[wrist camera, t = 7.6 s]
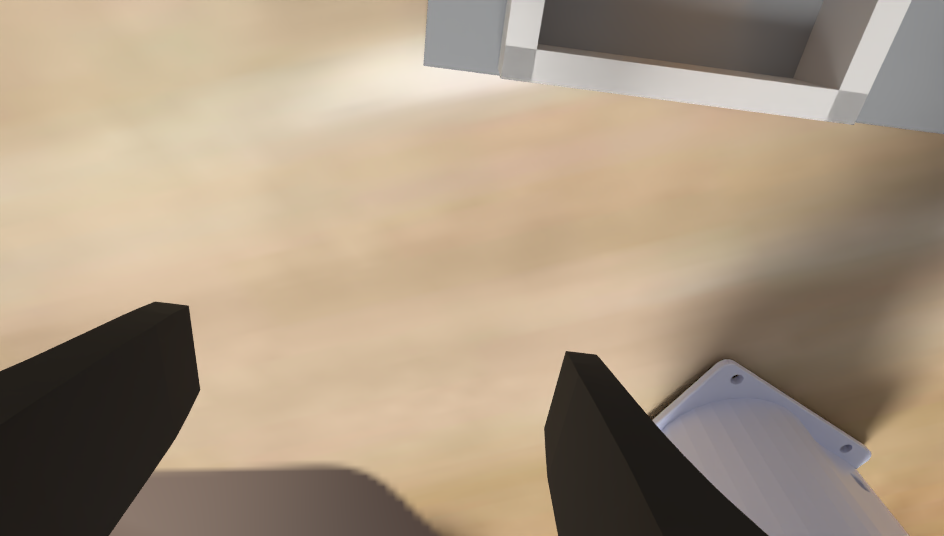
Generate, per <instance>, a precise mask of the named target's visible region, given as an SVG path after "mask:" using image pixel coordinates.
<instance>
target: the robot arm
mask: <svg viewBox="0 0 944 536" xmlns="http://www.w3.org/2000/svg"><path fill="white" fill-rule="evenodd" d="M735 375H738V376H737V377H735V378H732V377H733V376H735ZM199 391H200V385H199V378H198V370H197V363H196V356H195V349H194V341H193V334H192V327H191V320H190V312H189V306H187V305H178V304H170V303H162V302H153V303H151V304H148V305H146V306H143V307H141V308H138V309H136V310H134V311H131V312H129V313H127V314H125V315H122V316H120V317H118V318H116V319H114V320H111V321H109V322H107V323H105V324H103V325H101V326H99V327H97V328H94V329H92V330H90V331H88V332H86V333H84V334H82V335H79V336H77V337H75V338H73V339H71V340H69V341H67V342H64V343H62V344H60V345H58V346H56V347H54V348H52V349H49V350H47V351H45V352H43V353H41V354H39V355H36V356H34V357H32V358H30V359H28V360H25V361H23V362H21V363H19V364H16V365H14V366H12V367H9V368H7V369H5V370H2V371H0V536H109V535H110V533H111V532H112V530H113V529H114V527H115V526H116V525H117V523H118V522H119V520H120V519H121V517H122V516H123V514H124V513H125V512H126V510H127V509H128V507H129V506H130V504H131V503H132V501H133V500H134V499H135V497H136V496H137V494H138V493H139V491H140V490H141V489H142V487H143V486H144V484H145V483H146V481H147V480H148V478H149V477H150V476H151V474H152V473H153V471H154V470H155V468H156V467H157V465H158V464H159V462H160V461H161V459H162V458H163V456H164V455H165V453H166V452H167V451H168V449H169V448H170V446H171V445H172V443H173V441H174V440H175V438H176V437H177V435H178V433H179V431H180V429H181V427H182V425H183V424H184V422H185V420H186V418H187V416H188V414H189V412H190V410H191V408H192V406H193V404H194V402H195V400H196V398H197V396H198V393H199ZM544 431H545V449H546V464H547V477H548V483H549V488H550V494H551V499H552V505H553V510H554V516H555V521H556V526H557V531H558V536H909V535H908V533H907V532H906V531H905V530H904V528H903V527H902V526H901V525H900V523H899V522H898V521H897V520H896V518H895V517H894V516H893V515H892V513H891V512H890V511H889V510H888V508H887V507H886V506H885V505H884V503H883V502H882V501H881V500H880V498H879V497H878V496H877V495H876V494H875V492H874V491H873V490H872V489H871V487H870V486H869V485H868V484H867V482H866V481H865V480H864V479H863V477H862V476H861V475H860V474H859V472H858V471H857V470H856V469H857V468H858V467H860V466H861V465H863V464H864V463H865V462H867V461H868V460H869V459H870V457H871V452H870V451H869V450H868V448H867V447H866V446H865V445H864V444H862V443H860V442H859V441H857V440H856V439H854V438H853V437H851V436H850V435H848V434H847V433H845V432H843V431H842V430H840V429H839V428H837V427H836V426H834V425H833V424H831V423H830V422H828V421H826V420H825V419H823V418H822V417H820V416H819V415H817V414H816V413H814V412H813V411H811V410H809V409H808V408H806V407H805V406H803V405H802V404H800V403H799V402H797V401H795V400H794V399H792V398H791V397H789V396H788V395H786V394H785V393H783V392H782V391H780V390H778V389H777V388H775V387H774V386H772V385H771V384H769V383H768V382H766V381H765V380H763V379H761V378H760V377H758V376H757V375H755V374H754V373H752V372H751V371H749V370H748V369H746V368H744V367H743V366H741V365H740V364H738V363H737V362H735V361H733V360H731V359H725V360H721V361H719V362H718V363H716V364H715V365H714V366H713V367H712V368H711V369H709V370H708V371H707V372H706V373H705V374H704V375H703V376H702V377H700V378H699V379H698V380H697V381H696V382H695V383H694V384H693V385H691V386H690V387H689V388H688V389H687V390H686V391H685V392H683V393H682V394H681V395H680V396H679V397H678V398H677V399H676V400H674V401H673V402H672V403H671V404H670V405H669V406H668V407H666V408H665V409H664V410H663V411H662V412H661V413H660V414H659V415H657V416H656V417H655V418H654V419H653V420H651V419H650V417H649V416H648V415H647V414H646V413H645V412H644V410H643V409H642V408H641V407H640V406H639V405H638V403H637V402H636V401H635V400H634V399H633V397H632V396H631V395H630V394H629V393H628V391H627V390H626V389H625V388H624V387H623V386H622V384H621V383H620V382H619V381H618V379H617V378H616V377H615V376H614V375H613V373H612V372H611V371H610V370H609V369H608V367H607V366H606V365H605V364H604V363H603V362H602V360H601V359H600V358H599V357H598V356H597V355H594V354H586V353H577V352H569V351H566V353H565V356H564V360H563V363H562V367H561V371H560V374H559V378H558V381H557V385H556V388H555V392H554V396H553V399H552V403H551V406H550V410H549V414H548V417H547V421H546V424H545V428H544Z"/></svg>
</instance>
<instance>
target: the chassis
mask: <svg viewBox="0 0 944 536" xmlns="http://www.w3.org/2000/svg"><path fill="white" fill-rule="evenodd" d="M423 66H430V67H438V68H445V69H453V70H461V71H468V72H476V73H483V74H491V75H499V76H500V78H501V79H508V80H516V81H524V82H531V83H539V84H546V85H554V86H562V87H569V88H577V89H584V90H592V91H600V92H607V93H615V94H623V95H630V96H638V97H645V98H653V99H661V100H668V101H676V102H683V103H691V104H699V105H706V106H714V107H722V108H729V109H737V110H744V111H752V112H760V113H767V114H775V115H782V116H790V117H798V118H805V119H813V120H821V121H828V122H836V123H843V124H851V125H854V124H855V122H856V123H863V124H871V125H879V126H886V127H894V128H901V129H909V130H917V131H924V132H932V133H939V134H944V0H428V11H427V25H426V38H425V52H424V65H423Z"/></svg>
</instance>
